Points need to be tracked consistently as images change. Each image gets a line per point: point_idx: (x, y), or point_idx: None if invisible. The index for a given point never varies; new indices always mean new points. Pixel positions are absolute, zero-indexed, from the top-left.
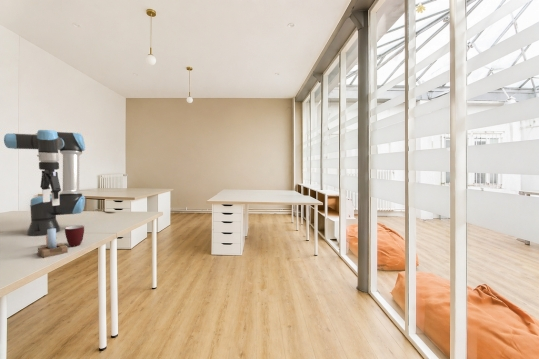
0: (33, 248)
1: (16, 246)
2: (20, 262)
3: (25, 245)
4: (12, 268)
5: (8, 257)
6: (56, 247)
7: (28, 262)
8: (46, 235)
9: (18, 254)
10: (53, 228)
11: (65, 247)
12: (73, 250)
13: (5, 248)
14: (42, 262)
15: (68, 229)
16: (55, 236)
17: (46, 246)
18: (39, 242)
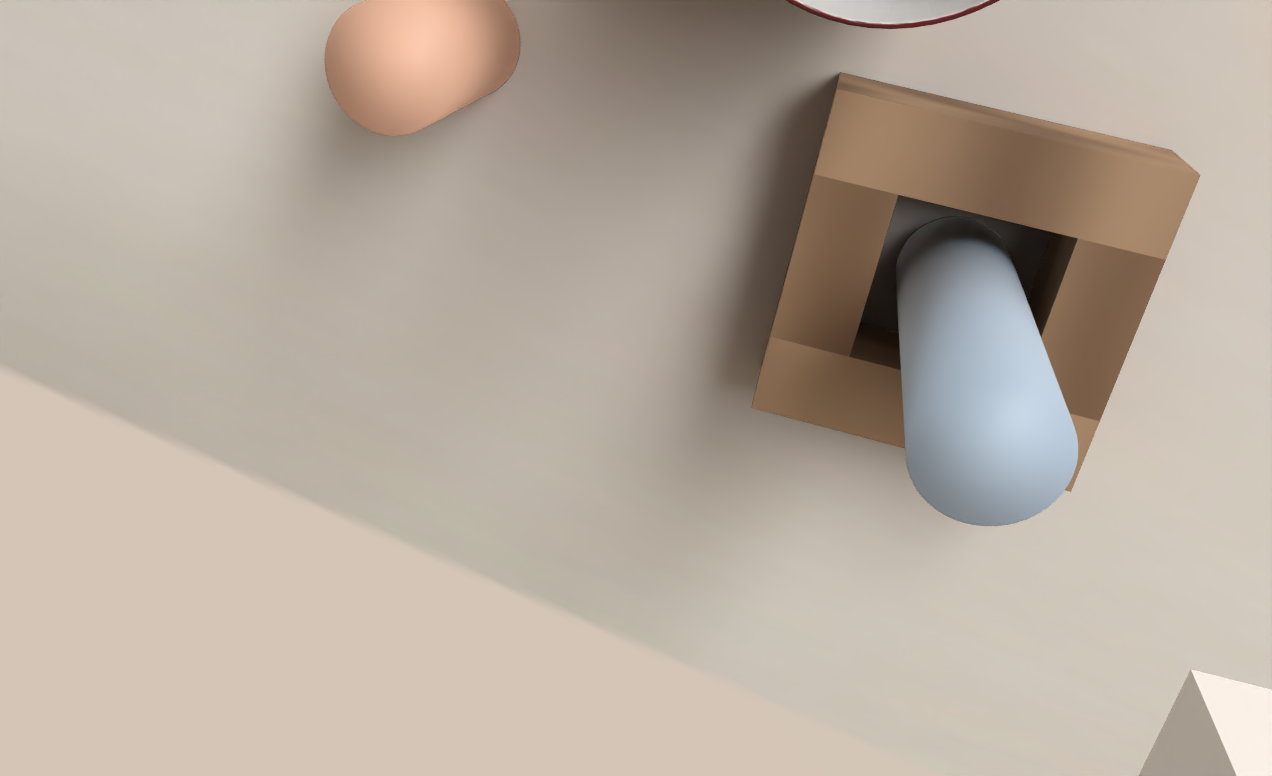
0: (402, 244)
1: (77, 284)
2: (930, 636)
3: (121, 205)
4: (1072, 770)
5: (560, 577)
6: (1007, 260)
7: (1036, 608)
8: (398, 135)
9: (535, 473)
10: (962, 398)
11: (1183, 201)
12: (1171, 36)
13: (71, 389)
14: (1237, 556)
15: (964, 14)
16: (1044, 351)
17: (815, 317)
18: (104, 15)
